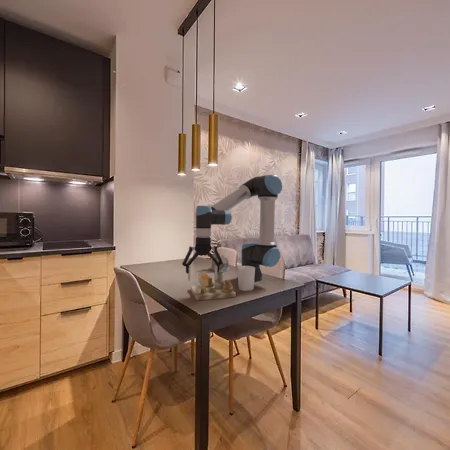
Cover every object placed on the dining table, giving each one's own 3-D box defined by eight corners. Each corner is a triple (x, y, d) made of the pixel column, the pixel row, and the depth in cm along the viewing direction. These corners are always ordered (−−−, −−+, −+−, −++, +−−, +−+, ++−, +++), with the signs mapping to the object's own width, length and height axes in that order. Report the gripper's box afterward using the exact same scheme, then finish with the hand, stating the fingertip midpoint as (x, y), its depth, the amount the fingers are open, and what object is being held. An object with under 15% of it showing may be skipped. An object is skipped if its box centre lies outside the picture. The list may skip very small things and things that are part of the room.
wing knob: (204, 289, 132) (204, 271, 131) (208, 295, 122) (208, 275, 122) (198, 290, 131) (198, 271, 130) (202, 296, 122) (202, 276, 121)
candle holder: (248, 292, 135) (248, 270, 134) (233, 289, 141) (233, 267, 140) (258, 288, 142) (258, 267, 141) (244, 285, 148) (244, 264, 148)
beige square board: (225, 286, 145) (225, 267, 145) (235, 296, 128) (236, 274, 128) (190, 289, 139) (190, 269, 139) (196, 300, 122) (196, 277, 122)
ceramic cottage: (217, 272, 179) (218, 251, 179) (207, 268, 193) (208, 249, 194) (236, 271, 187) (237, 251, 187) (225, 267, 201) (226, 249, 201)
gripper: (225, 235, 133) (224, 275, 134) (177, 236, 126) (176, 278, 127) (229, 237, 126) (228, 279, 127) (178, 237, 118) (178, 282, 119)
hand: (202, 279), depth 127 cm, fingers open, 13 cm apart
